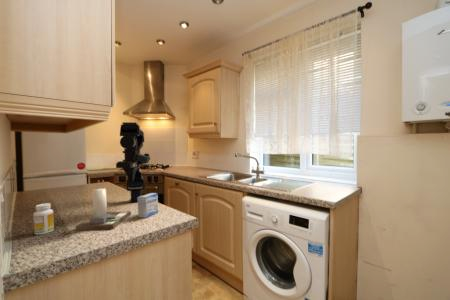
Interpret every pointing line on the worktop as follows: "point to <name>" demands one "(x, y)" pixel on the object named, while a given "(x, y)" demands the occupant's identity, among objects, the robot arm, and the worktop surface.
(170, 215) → the worktop surface
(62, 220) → the worktop surface
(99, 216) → the white tall cylinder
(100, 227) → the base
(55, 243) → the worktop surface
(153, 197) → the medicine box
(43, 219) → the supplement bottle
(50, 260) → the worktop surface
